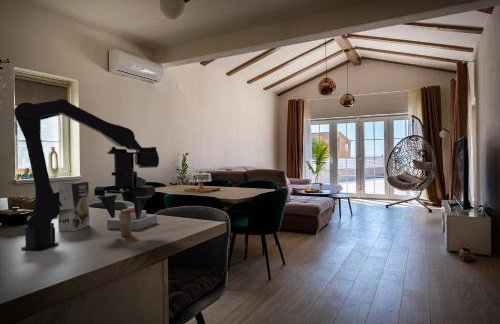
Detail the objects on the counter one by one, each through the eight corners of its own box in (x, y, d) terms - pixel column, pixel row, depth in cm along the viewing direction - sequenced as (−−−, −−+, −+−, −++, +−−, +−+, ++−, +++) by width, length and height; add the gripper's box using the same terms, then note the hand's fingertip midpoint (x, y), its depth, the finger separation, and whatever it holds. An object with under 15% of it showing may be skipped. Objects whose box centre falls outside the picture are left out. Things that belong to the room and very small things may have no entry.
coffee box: (76, 231, 110) (75, 183, 109) (57, 231, 110) (56, 183, 109) (90, 225, 119) (89, 181, 118) (73, 225, 119) (71, 181, 118)
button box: (137, 230, 109) (136, 215, 109) (107, 228, 113) (106, 214, 113) (157, 222, 121) (156, 209, 121) (129, 221, 124) (129, 208, 124)
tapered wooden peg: (127, 236, 100) (126, 211, 100) (119, 236, 101) (118, 210, 101) (133, 234, 103) (132, 209, 103) (125, 234, 104) (124, 209, 104)
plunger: (133, 216, 115) (133, 208, 115) (126, 216, 116) (125, 208, 115) (139, 215, 118) (139, 207, 118) (131, 214, 119) (131, 206, 119)
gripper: (164, 167, 107) (165, 214, 107) (116, 167, 112) (117, 212, 112) (144, 168, 96) (145, 221, 96) (92, 169, 101) (93, 219, 102)
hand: (125, 218), depth 102 cm, fingers open, 9 cm apart
